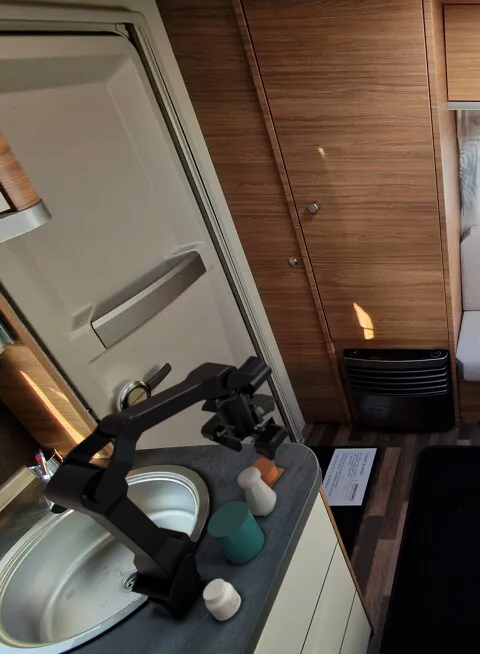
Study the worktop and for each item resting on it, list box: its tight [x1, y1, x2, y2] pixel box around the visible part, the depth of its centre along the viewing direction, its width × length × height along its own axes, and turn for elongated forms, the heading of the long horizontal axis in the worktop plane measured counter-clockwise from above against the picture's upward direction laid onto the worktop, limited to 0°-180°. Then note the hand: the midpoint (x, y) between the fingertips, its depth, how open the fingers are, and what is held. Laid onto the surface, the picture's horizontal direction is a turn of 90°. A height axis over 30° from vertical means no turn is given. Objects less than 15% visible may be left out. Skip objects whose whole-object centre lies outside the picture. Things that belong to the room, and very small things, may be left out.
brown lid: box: [250, 457, 277, 485], centre depth 101 cm, size 5×5×4 cm
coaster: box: [267, 466, 285, 489], centre depth 102 cm, size 6×6×1 cm
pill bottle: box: [202, 578, 242, 622], centre depth 78 cm, size 4×4×8 cm
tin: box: [207, 500, 265, 565], centre depth 86 cm, size 7×7×11 cm
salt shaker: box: [236, 466, 277, 517], centre depth 93 cm, size 6×6×13 cm
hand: (256, 454), depth 98 cm, fingers open, 9 cm apart
